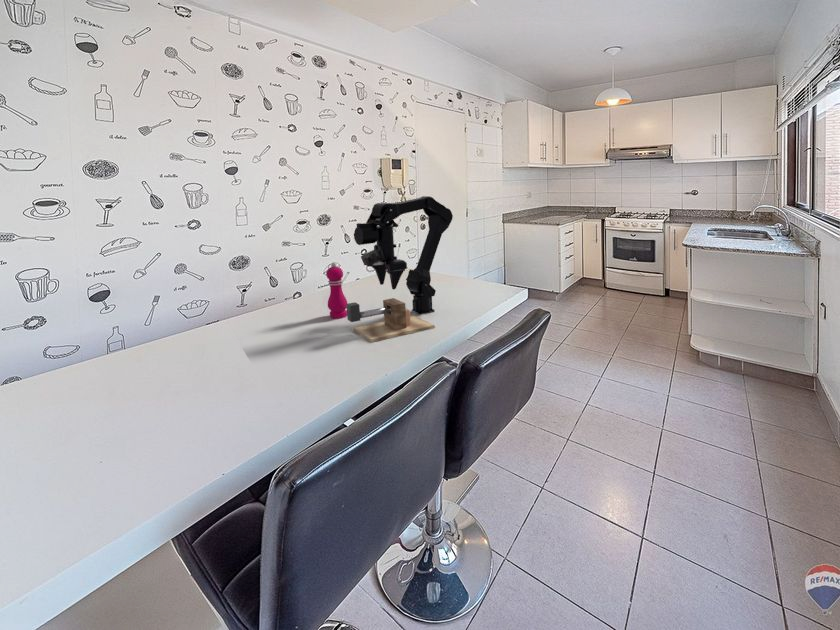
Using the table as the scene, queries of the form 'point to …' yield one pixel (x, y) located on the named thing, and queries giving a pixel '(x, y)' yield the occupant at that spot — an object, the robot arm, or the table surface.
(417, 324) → the base plate
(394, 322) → the bearing block
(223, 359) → the table surface
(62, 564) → the table surface
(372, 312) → the shaft
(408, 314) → the spacer
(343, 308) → the pepper mill
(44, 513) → the table surface
